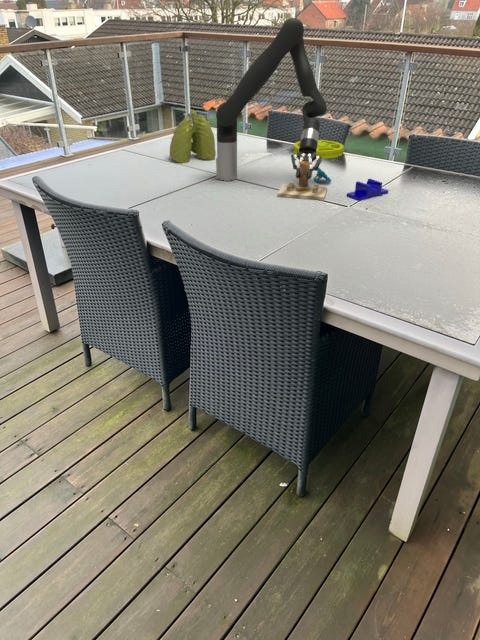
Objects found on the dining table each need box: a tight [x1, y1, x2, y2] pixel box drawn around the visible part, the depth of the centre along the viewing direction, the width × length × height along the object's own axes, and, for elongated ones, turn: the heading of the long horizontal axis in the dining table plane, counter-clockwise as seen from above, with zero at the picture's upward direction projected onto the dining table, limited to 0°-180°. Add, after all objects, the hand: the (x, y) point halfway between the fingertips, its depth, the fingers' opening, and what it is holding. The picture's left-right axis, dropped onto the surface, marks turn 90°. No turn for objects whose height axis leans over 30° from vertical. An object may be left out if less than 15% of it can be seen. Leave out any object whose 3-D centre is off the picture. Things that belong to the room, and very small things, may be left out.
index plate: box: [276, 182, 328, 201], centre depth 213 cm, size 20×14×4 cm
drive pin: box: [298, 161, 310, 187], centre depth 210 cm, size 4×4×10 cm
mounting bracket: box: [346, 178, 389, 202], centre depth 211 cm, size 18×7×6 cm, turn 124°
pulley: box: [293, 139, 345, 160], centre depth 276 cm, size 28×28×5 cm
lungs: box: [169, 109, 217, 164], centre depth 258 cm, size 25×16×24 cm, turn 112°
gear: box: [313, 166, 332, 184], centre depth 227 cm, size 11×6×10 cm
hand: (303, 177), depth 209 cm, fingers closed on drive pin, 4 cm apart
